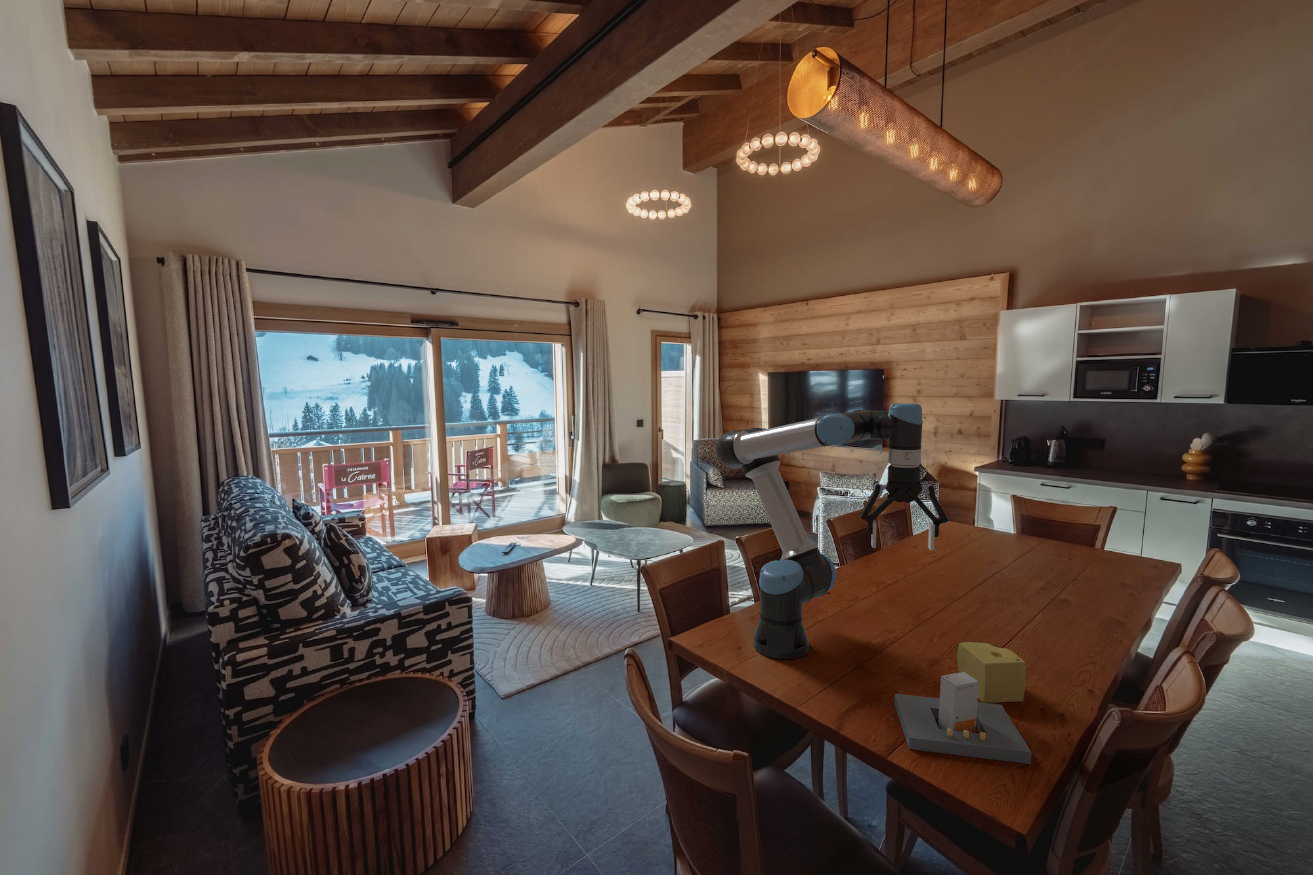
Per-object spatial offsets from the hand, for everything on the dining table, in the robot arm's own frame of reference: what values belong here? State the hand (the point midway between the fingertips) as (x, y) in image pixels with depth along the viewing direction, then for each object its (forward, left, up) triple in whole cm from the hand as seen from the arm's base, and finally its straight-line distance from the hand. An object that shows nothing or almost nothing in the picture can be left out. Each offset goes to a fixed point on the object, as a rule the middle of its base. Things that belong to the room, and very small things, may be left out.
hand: (901, 547), depth 142 cm
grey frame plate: (+7, -26, -32) cm, 42 cm away
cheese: (+19, -8, -32) cm, 38 cm away
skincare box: (+7, -26, -32) cm, 42 cm away
